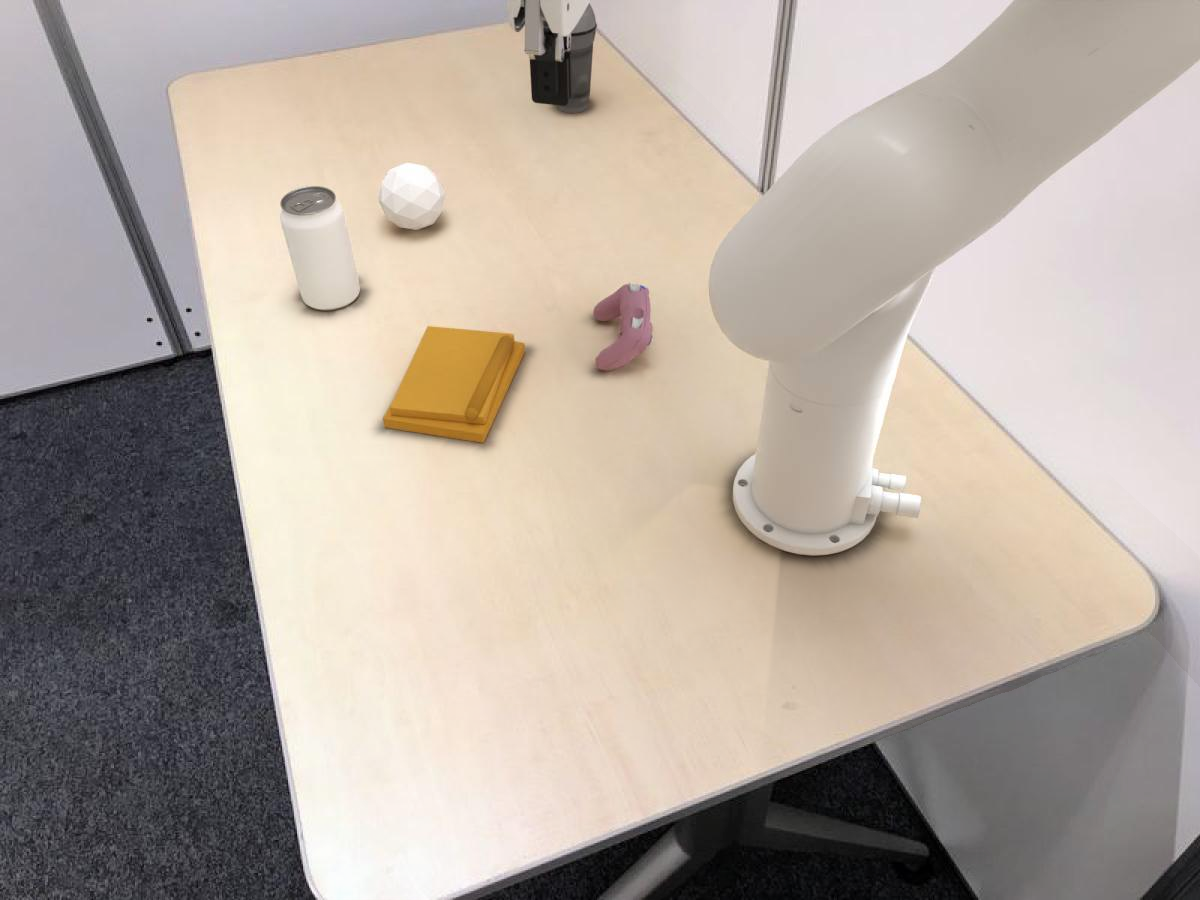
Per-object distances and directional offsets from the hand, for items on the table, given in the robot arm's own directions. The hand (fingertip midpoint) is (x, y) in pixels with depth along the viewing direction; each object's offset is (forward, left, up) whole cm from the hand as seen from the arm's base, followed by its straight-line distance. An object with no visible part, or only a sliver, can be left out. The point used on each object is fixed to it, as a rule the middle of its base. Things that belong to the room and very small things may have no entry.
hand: (552, 99), depth 84 cm
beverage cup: (+12, -53, -27) cm, 61 cm away
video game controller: (-6, -1, -27) cm, 27 cm away
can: (+27, -2, -27) cm, 38 cm away
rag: (+8, +10, -26) cm, 29 cm away
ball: (+23, -18, -27) cm, 40 cm away
